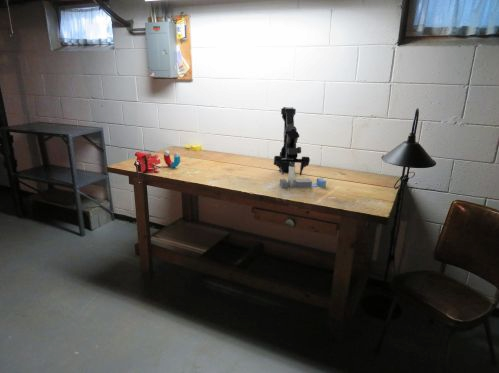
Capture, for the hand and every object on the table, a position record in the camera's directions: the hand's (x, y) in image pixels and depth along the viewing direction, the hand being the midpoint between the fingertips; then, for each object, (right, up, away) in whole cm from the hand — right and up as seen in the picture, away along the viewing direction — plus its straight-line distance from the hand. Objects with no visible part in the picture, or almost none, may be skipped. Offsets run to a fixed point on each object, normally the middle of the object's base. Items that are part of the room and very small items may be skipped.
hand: (291, 174), depth 187 cm
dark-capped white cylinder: (0, -6, +3) cm, 7 cm away
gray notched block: (+6, -7, +5) cm, 10 cm away
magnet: (-71, +6, +37) cm, 80 cm away
